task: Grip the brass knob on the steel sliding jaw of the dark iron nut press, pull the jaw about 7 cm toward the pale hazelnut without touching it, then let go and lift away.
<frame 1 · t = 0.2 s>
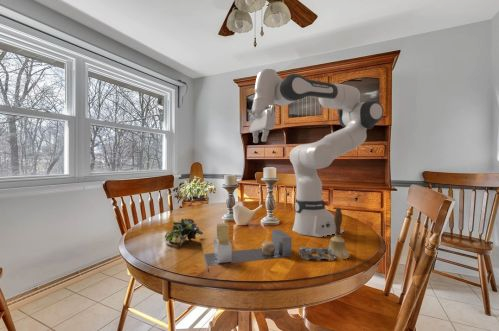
hand: (259, 142, 102), 39 cm above the table, tool pointing down, fingers open, 8 cm apart
press base: (247, 259, 77), on the table
hazelnut: (268, 252, 79), point 1 cm above the table, touching press base
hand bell: (337, 255, 82), on the table
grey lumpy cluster: (316, 261, 78), on the table
sliding jaw: (222, 240, 75), point 7 cm above the table, slide at 0.0 cm
passion flower: (183, 244, 92), on the table
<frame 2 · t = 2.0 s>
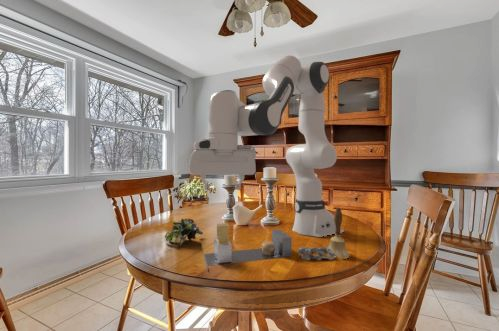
hand: (222, 189, 75), 22 cm above the table, tool pointing down, fingers open, 8 cm apart
nothing on the table moved.
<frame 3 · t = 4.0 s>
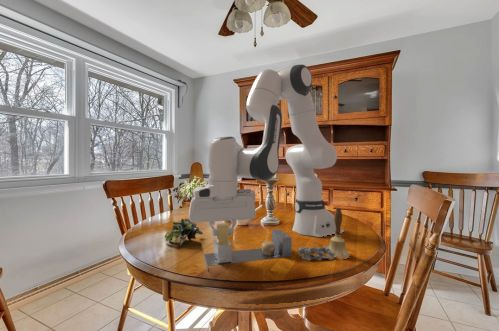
hand: (222, 234, 75), 9 cm above the table, tool pointing down, fingers closed on sliding jaw, 3 cm apart
sliding jaw: (222, 240, 75), point 7 cm above the table, slide at 0.0 cm, touching gripper
everything else where it was.
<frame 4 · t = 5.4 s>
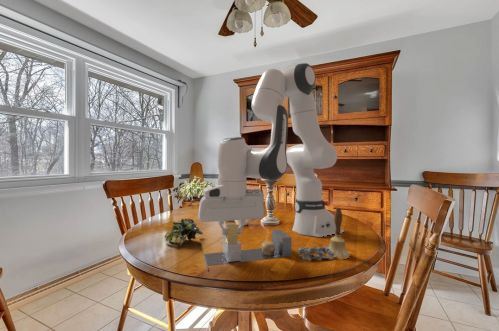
hand: (231, 234, 76), 9 cm above the table, tool pointing down, fingers closed on sliding jaw, 3 cm apart
sliding jaw: (231, 240, 76), point 7 cm above the table, slide at 2.8 cm, touching gripper
everything else where it was.
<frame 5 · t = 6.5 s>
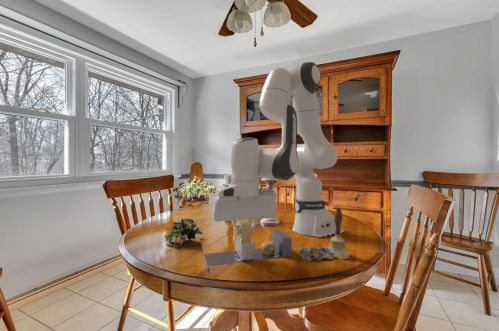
hand: (244, 233, 77), 9 cm above the table, tool pointing down, fingers closed on sliding jaw, 3 cm apart
sliding jaw: (244, 239, 77), point 7 cm above the table, slide at 7.0 cm, touching gripper
everything else where it was.
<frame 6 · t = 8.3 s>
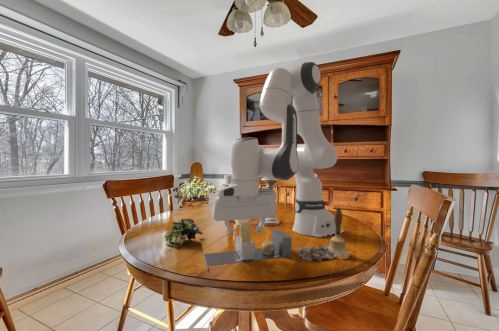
hand: (244, 232, 77), 9 cm above the table, tool pointing down, fingers open, 8 cm apart
sliding jaw: (244, 239, 77), point 7 cm above the table, slide at 7.1 cm
everything else where it was.
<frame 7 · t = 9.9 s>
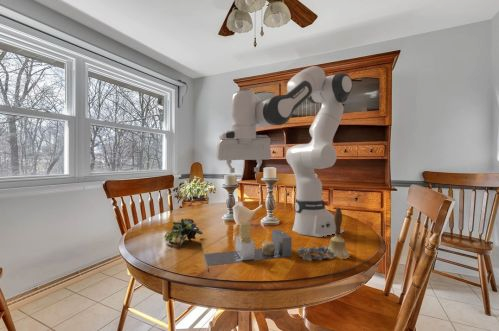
hand: (244, 172, 90), 27 cm above the table, tool pointing down, fingers open, 8 cm apart
nothing on the table moved.
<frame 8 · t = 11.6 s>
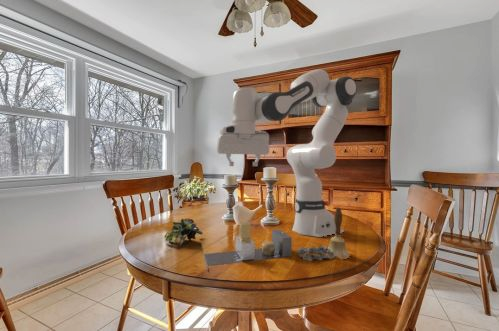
hand: (243, 166, 94), 29 cm above the table, tool pointing down, fingers open, 8 cm apart
at the end: sliding jaw slide at 7.1 cm; hazelnut moved 0.0 cm from its start; the gripper is holding nothing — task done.
